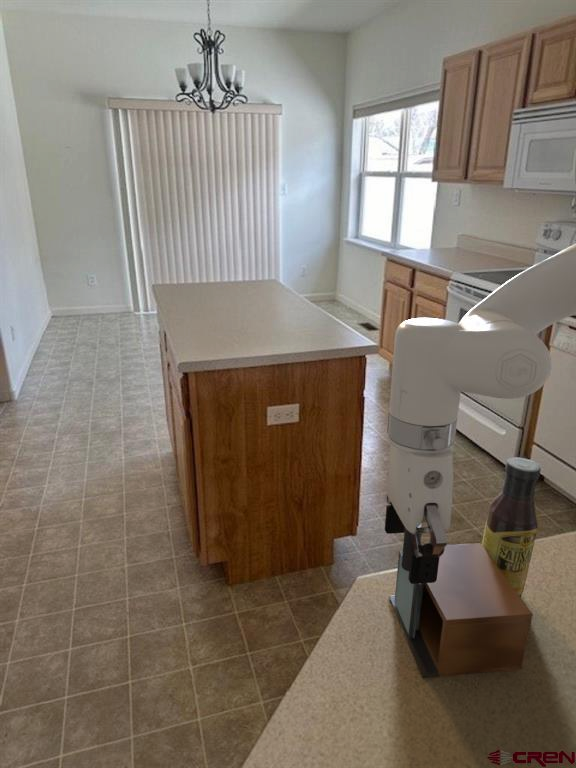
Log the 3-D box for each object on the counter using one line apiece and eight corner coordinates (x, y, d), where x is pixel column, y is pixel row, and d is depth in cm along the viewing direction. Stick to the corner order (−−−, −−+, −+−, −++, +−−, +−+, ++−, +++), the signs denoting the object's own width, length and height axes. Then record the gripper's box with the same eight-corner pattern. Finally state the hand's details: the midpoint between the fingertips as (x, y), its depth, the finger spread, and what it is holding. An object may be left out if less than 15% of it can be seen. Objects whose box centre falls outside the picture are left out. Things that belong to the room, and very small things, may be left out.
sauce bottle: (491, 612, 70) (514, 479, 64) (465, 581, 76) (483, 456, 69) (533, 603, 72) (560, 472, 65) (504, 573, 78) (526, 450, 71)
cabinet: (472, 591, 74) (480, 542, 71) (521, 669, 62) (532, 613, 59) (388, 597, 73) (393, 548, 70) (421, 677, 60) (428, 621, 58)
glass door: (403, 600, 72) (412, 509, 67) (420, 638, 65) (431, 540, 61) (389, 601, 71) (397, 510, 67) (404, 639, 65) (414, 541, 61)
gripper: (487, 462, 53) (467, 602, 58) (426, 400, 69) (414, 514, 75) (414, 465, 52) (400, 607, 58) (369, 402, 68) (362, 517, 74)
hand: (408, 555), depth 66 cm, fingers open, 9 cm apart
